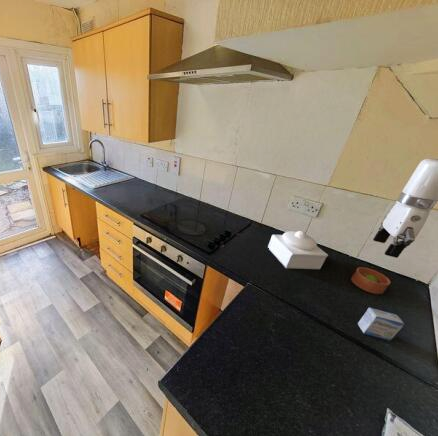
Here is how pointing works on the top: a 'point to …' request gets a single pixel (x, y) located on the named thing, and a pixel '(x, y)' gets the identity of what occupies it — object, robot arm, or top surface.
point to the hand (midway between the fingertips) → (384, 248)
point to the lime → (371, 278)
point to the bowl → (369, 284)
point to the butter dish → (297, 250)
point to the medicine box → (380, 324)
